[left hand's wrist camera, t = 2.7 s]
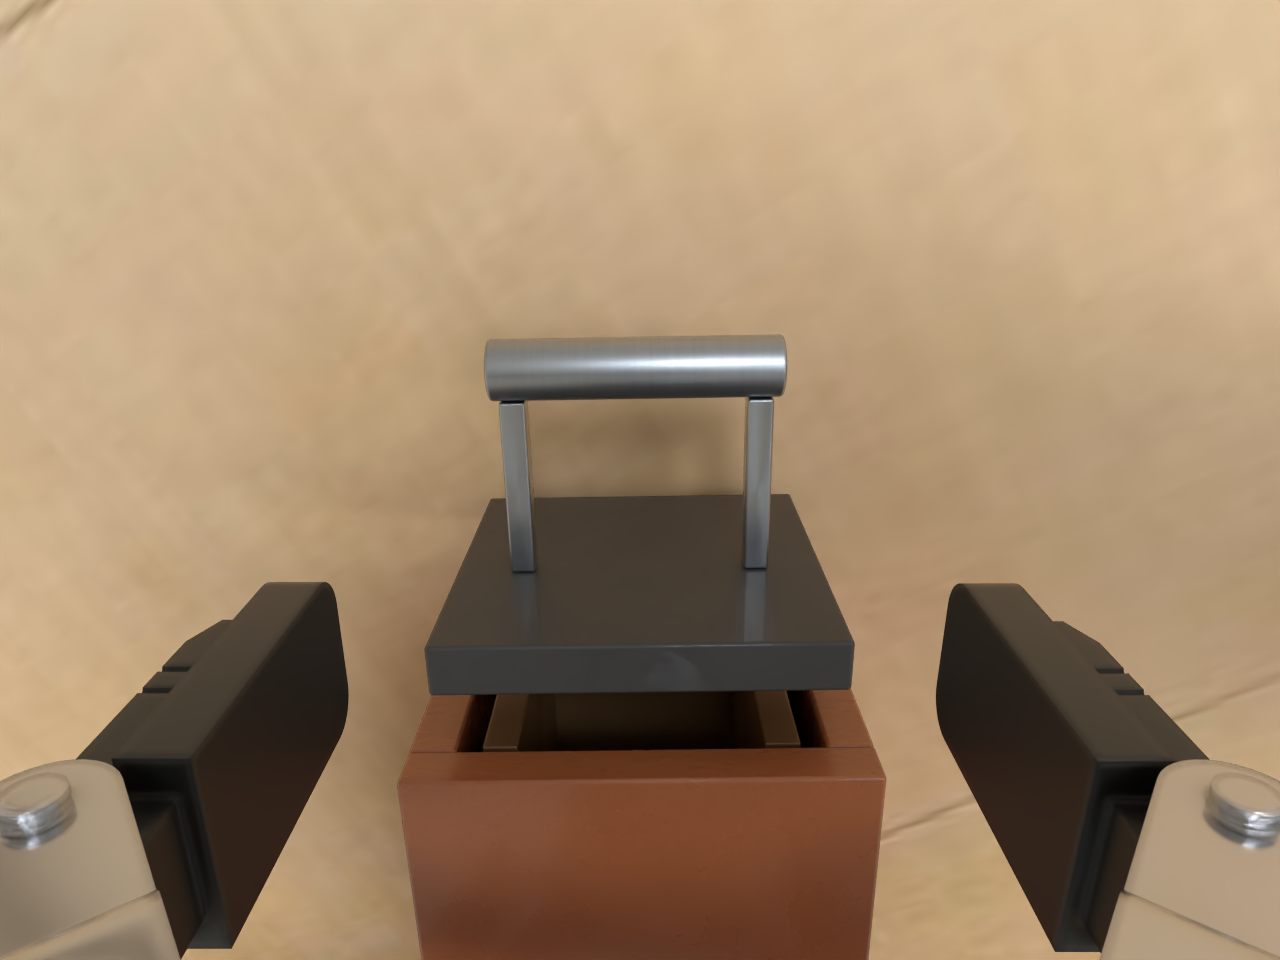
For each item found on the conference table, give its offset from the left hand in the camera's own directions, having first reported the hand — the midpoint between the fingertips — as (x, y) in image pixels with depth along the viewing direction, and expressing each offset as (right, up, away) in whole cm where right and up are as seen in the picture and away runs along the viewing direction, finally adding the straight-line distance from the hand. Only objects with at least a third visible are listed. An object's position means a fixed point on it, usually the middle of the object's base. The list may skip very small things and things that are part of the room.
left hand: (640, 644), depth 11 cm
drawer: (0, -4, +17) cm, 18 cm away
